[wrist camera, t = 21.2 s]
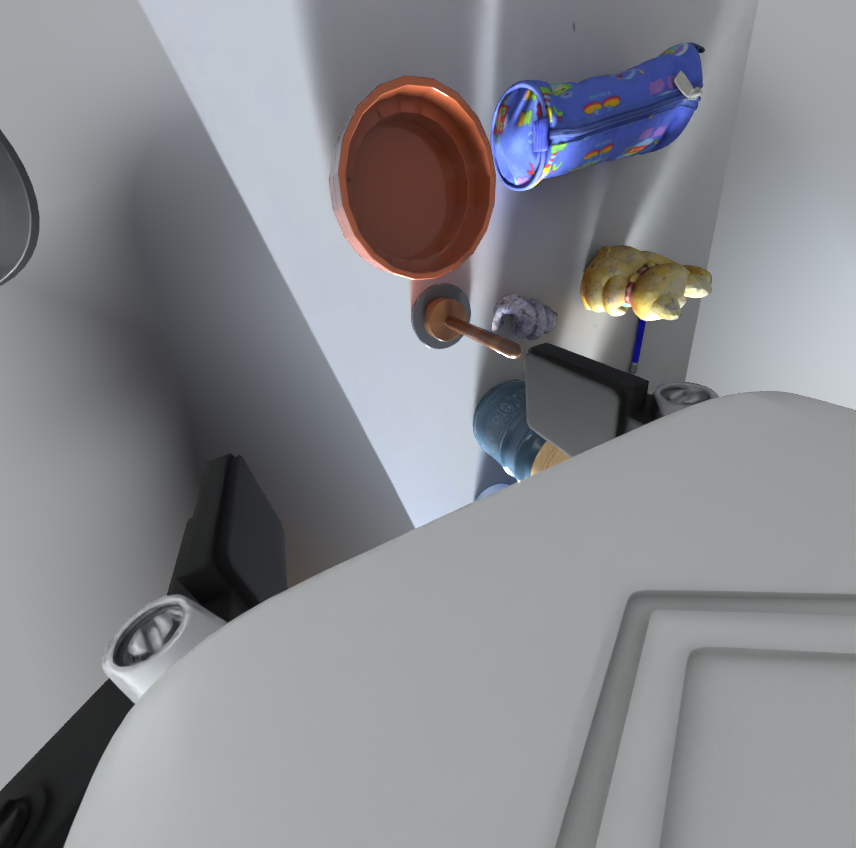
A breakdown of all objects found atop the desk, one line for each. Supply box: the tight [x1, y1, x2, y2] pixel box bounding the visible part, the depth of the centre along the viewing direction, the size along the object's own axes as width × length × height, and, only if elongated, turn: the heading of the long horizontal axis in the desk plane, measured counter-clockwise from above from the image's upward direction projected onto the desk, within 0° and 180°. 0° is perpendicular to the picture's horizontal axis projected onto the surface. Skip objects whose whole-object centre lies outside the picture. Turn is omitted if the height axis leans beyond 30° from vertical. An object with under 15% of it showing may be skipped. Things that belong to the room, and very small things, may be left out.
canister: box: [473, 380, 570, 482], centre depth 49 cm, size 13×13×18 cm
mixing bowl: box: [329, 75, 496, 280], centre depth 34 cm, size 15×15×6 cm
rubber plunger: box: [423, 297, 522, 359], centre depth 37 cm, size 5×5×16 cm
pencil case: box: [491, 42, 705, 191], centre depth 36 cm, size 22×9×10 cm, turn 104°
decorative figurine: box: [580, 245, 712, 321], centre depth 44 cm, size 10×8×15 cm
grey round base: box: [412, 283, 471, 349], centre depth 44 cm, size 8×8×1 cm
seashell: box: [492, 294, 557, 340], centre depth 46 cm, size 5×5×10 cm
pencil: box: [630, 319, 646, 374], centre depth 58 cm, size 17×1×1 cm, turn 8°
